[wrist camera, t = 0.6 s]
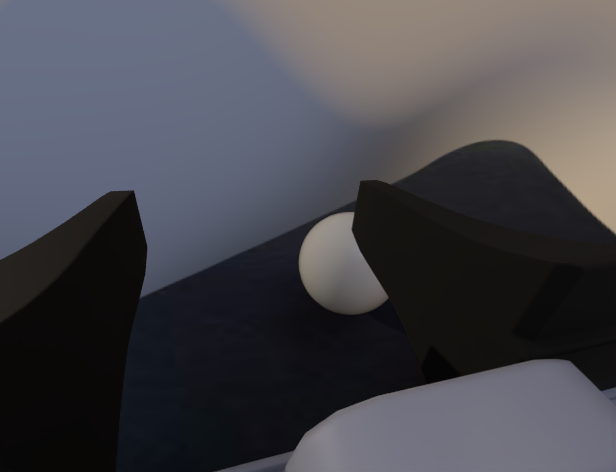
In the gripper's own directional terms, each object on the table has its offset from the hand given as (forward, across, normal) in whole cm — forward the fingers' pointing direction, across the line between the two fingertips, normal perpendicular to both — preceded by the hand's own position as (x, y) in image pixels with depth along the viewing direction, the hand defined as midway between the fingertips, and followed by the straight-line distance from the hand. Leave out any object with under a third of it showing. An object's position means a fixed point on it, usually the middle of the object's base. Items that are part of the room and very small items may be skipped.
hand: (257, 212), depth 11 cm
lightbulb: (+8, -10, +14) cm, 19 cm away
